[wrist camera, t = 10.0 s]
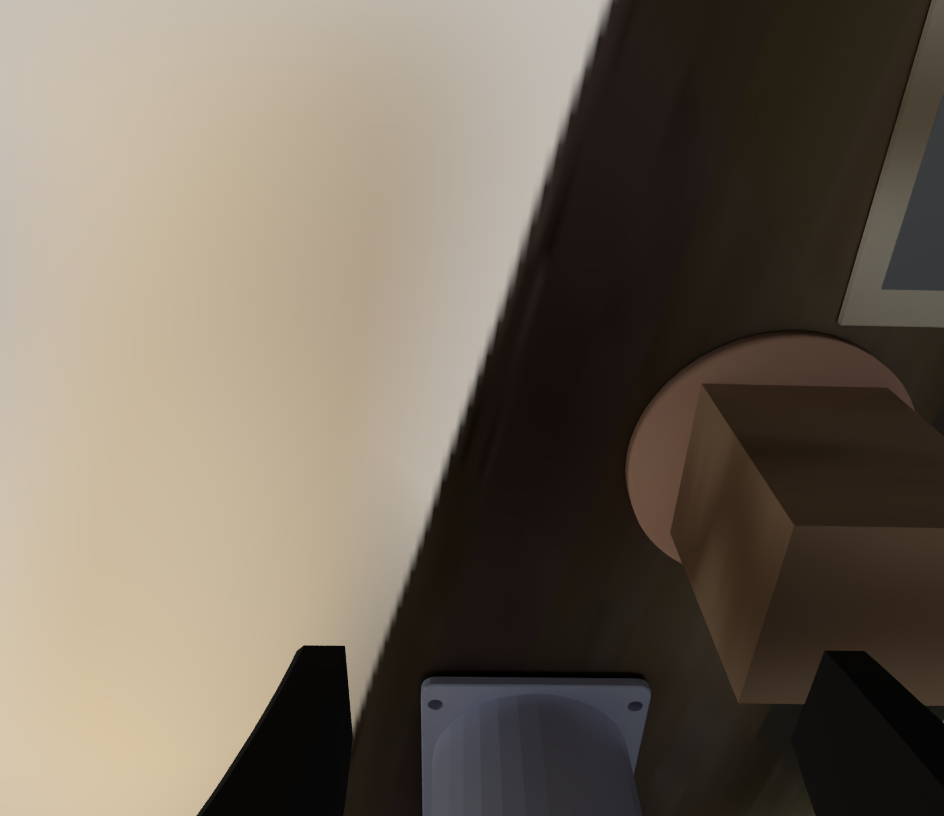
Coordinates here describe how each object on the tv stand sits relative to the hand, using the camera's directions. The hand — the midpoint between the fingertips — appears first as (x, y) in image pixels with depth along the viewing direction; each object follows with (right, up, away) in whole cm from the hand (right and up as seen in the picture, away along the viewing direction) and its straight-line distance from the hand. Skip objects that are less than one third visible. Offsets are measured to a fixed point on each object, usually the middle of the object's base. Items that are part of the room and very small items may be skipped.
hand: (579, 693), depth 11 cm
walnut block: (+7, +3, +9) cm, 12 cm away
